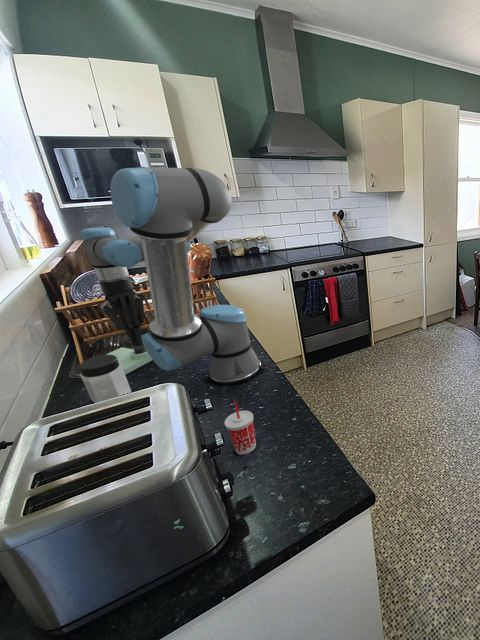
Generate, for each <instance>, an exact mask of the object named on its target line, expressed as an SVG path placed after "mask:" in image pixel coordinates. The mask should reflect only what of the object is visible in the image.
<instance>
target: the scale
mask: <svg viewBox="0 0 480 640" xmlns="http://www.w3.org/2000/svg"><path fill="white" fill-rule="evenodd" d="M105 355H114V356H116V357H117V360H118V362H119V365H121V366H122V368H123V371H124V373H125V376H127V374H129V373H131V372H133V371H135V370H137V369H139V368H141V367H142V366H144V365H146V364H148V363H150V362H152V361H153V359H152V358H151V357H150V355H149V354H148V352H147V351H146V352H144V353H141V354H135V351H134V348H128V347H119V348H117V349H115V350H113V351H111V352H108V353H106V354H105Z"/></svg>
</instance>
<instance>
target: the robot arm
mask: <svg viewBox="0 0 480 640" xmlns="http://www.w3.org/2000/svg"><path fill="white" fill-rule="evenodd" d="M110 199H111V205H112V207H113V208H114V209H115V210H114V213H115V215H116V216H117V217H116V218H118V220H119V221H120V222H121V223H122V224H123V225H124V226H125V227H127V228H129V229H130V231H131V232H132V234H134V236H132V235H131V236H124V237H118V236H117V235H116V233H115V231H114V229H113V228H111V227H108V226H100V227H89V228H84V229H82V230H80V235H81V238H82V243H83V244H84V247H85V249H86V252H87V254H88V257H89V260H90V262H91V264H92V267H93V269H94V272H95V275H96V277H97V280H99V282H98V283H99V286H100V288H101V291H102V293H103V294H104V303H103V304H100V305H98V309H100V310H101V311H103V312H104V313H105V315H106V316H107V317H108V319H109V320H110V321H111V324H113V325H114V327H115V328H116V329H117V330H118V331H124V332H125V333H126V336H127V338H128V339H130V340H131V343H132V346H134V347H138V346H139V347H140V346H144V347H145V349H146V351H147V352H148V354H149V355H150V357H151V358H152V359H153V360H152V361H153V362H154V363H155V364H156V366H158V367H159V369H161V370H163V371H168V372H169V371H173V370H177V369H179V368H183V367H184V366H186V365H189V364H192V363H194V362H196V361H199V360H201V359H202V358H206V357H208V356H210V363H209V366H210V367H209V369H208V375H209V379H210V380H211V382H212V383H214V384H218V385H226V386H227V385H235V384H239V383H243V382H246V381H248V380H251V379H252V378H255V376H257V375H258V374H259V373H260V372H261V371H265V370H266V367H265V366H262V363H261V360H260V358H259V357H258V356H257V354H256V352H255V351H254V349H253V348H252V344H251V339H250V333H249V328H248V324H247V317H246V315H245V312H244V310H243V309H242V308H241V307H239V306H236V305H233V304H216V305H209V306H205V307H203V308H201V309H200V311H199V316H198V315H197V314H195V310H194V300H193V299H194V298H193V292H192V280H191V272H190V263H189V262H190V261H189V253H190V252H191V247H192V246H191V242H192V241H193V240H194V239H195V238H196V237H197V236H199V235H200V234H201V233H202V232H203V231H204V230H205V229H206V228H208V227H209V226H210V225H211V224H216V223H219V222H221V221H222V220H223V219H224V218H225V217H226V216H228V214H229V212H230V211H231V209H232V201H233V200H232V195H231V192H230V190H229V188H228V186H227V184H226V183H224V181H223V180H222V179H221V178H220V177H218V176H217V175H215V174H214V173H212V172H211V171H208V170H206V169H202V168H198V167H146V166H138V167H126V168H121V169H118V170H117V171H115V173H114V174H113V176H112V178H111V182H110ZM142 262H144V264H145V270H146V275H147V282H148V287H149V292H150V293H149V294H150V297H151V301H152V302H151V304H152V309H153V315H154V317H153V319H152V320H150V322H149V324H148V328H149V332H145V334H144V333H143V331H142V328H141V327H142V326H143V324H144V323H145V322H146V319H145V310H144V309H145V308H144V298H145V294H144V293H139V292H136V290H134V285H133V281H132V279H131V277H129V276H130V273H129V270H128V268H131V267H134V266H135V265H138V264H139V263H142ZM113 308H114V309H113ZM142 323H143V324H142Z"/></svg>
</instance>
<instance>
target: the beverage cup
mask: <svg viewBox="0 0 480 640" xmlns="http://www.w3.org/2000/svg"><path fill="white" fill-rule="evenodd" d="M233 405H234V409H235V412H233V413H231V414H229V415H228V416H227V417H226V418H225V420H224V426H225V428H226V429H227V432H228V435H229V436H230V439H231V442H232V446H233V448H234V450H235V452H236V454H238V455H247V454H249V453H251V452H253V451H254V450H255V449H256V447H257V441H256V432H255V427H254V426H255V425H254V414H253V413H252V411H249V410H239V408H238V404H237V401H236V400H234V401H233Z"/></svg>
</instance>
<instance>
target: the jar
mask: <svg viewBox="0 0 480 640" xmlns="http://www.w3.org/2000/svg"><path fill="white" fill-rule="evenodd" d="M77 368H78V370H79V372H80V373H79V375H80V378H81V380H82V382H83V384H84V387H85V388H86V389H85V390H86V391H87V393H88V396H89V397H90V399H91V402H93V403H95V404H96V402H100V401H104V400H107V399H110V398H113V397H117V396H120V395H123V394H127V393H129V394H131V393H132V389H131V386H130V384H129V381H128V379H127V375H125V373H124V371H123V368H122V366H121V365H119V362H118V360H117V357H116V356H114V355H106V354H101V355H97V356H93V357H90V358H88V359H85V360H83V361H82V362H81V363H79V365H78V367H77Z"/></svg>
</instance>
